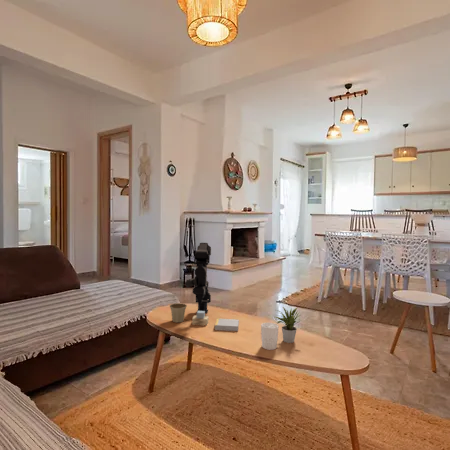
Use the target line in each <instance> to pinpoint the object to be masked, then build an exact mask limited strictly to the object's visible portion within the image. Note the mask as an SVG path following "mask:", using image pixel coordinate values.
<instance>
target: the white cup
mask: <svg viewBox="0 0 450 450" xmlns="http://www.w3.org/2000/svg"><path fill="white" fill-rule="evenodd" d="M260 331H261V333H260V334H261V338H260V339H261V348H263V349H265V350H267V351H269V350H270V351H273V350H276V349H277V348H278V340H279V339H278V338H279V336H278V335H279V324H278V323H275V322H262V323H261V325H260Z"/></svg>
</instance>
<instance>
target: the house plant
mask: <svg viewBox="0 0 450 450" xmlns="http://www.w3.org/2000/svg"><path fill="white" fill-rule="evenodd" d="M282 309H283V311H284V313H283V312H282V311H280V310H277V309H275V311H276V312H278V313H280V314H281V316H282V317H279V316H274V318H275V319H277V321H276V324H279V323H282V324H283V326H281V331H282V332H281V334H282V339H283V342H284V343H288V344H292V343H295V339H296V335H297V331H298V330H297V329H298V328H297V326H295V324H297V323H299V321H296V320H297V319H298V317H300V316H301V314H300V315H299V313H300V312H299V310H297V309H298V307H296V308H294V309H293V310H292V308H291V307H290V310H287V309H286V308H285V307H284V306H282Z"/></svg>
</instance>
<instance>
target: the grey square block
mask: <svg viewBox="0 0 450 450" xmlns="http://www.w3.org/2000/svg"><path fill="white" fill-rule="evenodd" d="M196 315H197V318H200V319H204V317H205V316H206V313H205V311H197V310H196Z"/></svg>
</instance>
